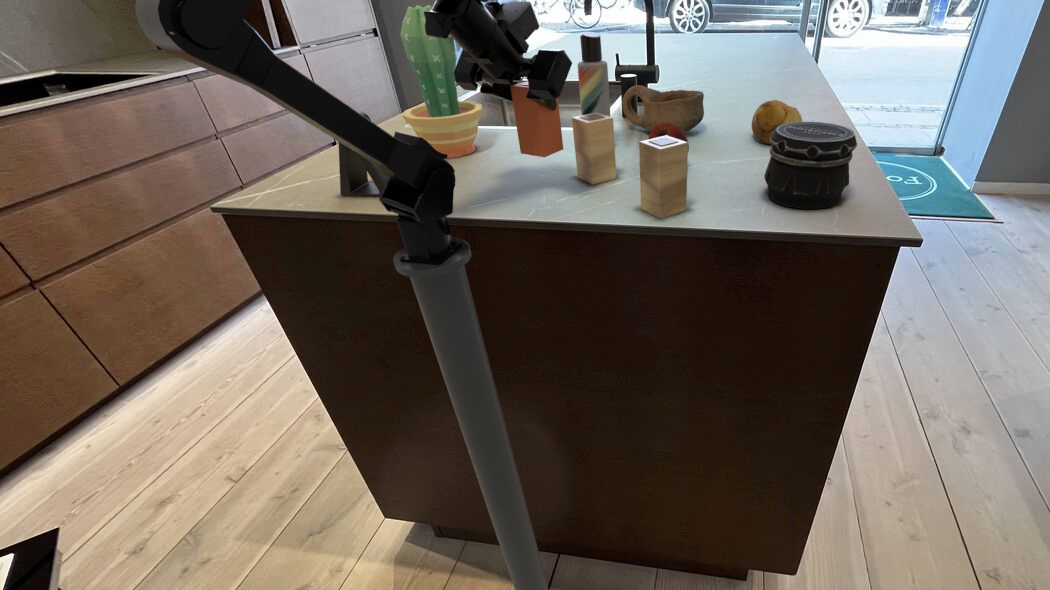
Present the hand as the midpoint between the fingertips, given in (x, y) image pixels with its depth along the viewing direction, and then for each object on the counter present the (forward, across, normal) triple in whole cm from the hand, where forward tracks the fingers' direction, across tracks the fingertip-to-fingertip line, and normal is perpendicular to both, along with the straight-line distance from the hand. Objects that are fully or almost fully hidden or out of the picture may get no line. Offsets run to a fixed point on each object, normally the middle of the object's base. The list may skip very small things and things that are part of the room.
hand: (542, 106), depth 84 cm
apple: (+20, -14, -2) cm, 25 cm away
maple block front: (+8, -23, +10) cm, 26 cm away
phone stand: (-2, +26, +20) cm, 33 cm away
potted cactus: (+14, +31, +4) cm, 34 cm away
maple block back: (+13, -5, +4) cm, 15 cm away
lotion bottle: (+25, +6, -7) cm, 26 cm away
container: (+18, -40, -1) cm, 44 cm away
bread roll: (+39, -25, -21) cm, 51 cm away
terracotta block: (+4, 0, +6) cm, 7 cm away
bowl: (+35, -1, -18) cm, 39 cm away
